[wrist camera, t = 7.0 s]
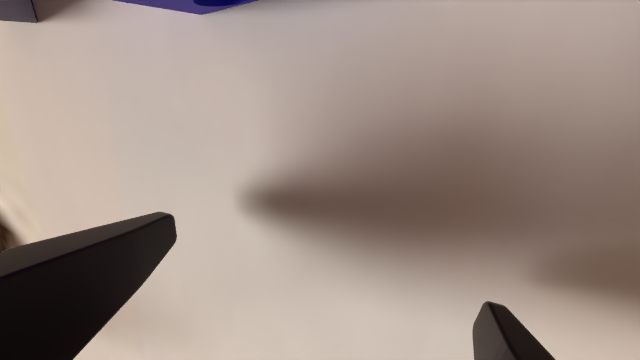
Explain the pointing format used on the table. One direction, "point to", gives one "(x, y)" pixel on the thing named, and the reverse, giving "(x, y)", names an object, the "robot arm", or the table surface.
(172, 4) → the blue notched cradle
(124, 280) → the robot arm
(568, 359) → the table surface
